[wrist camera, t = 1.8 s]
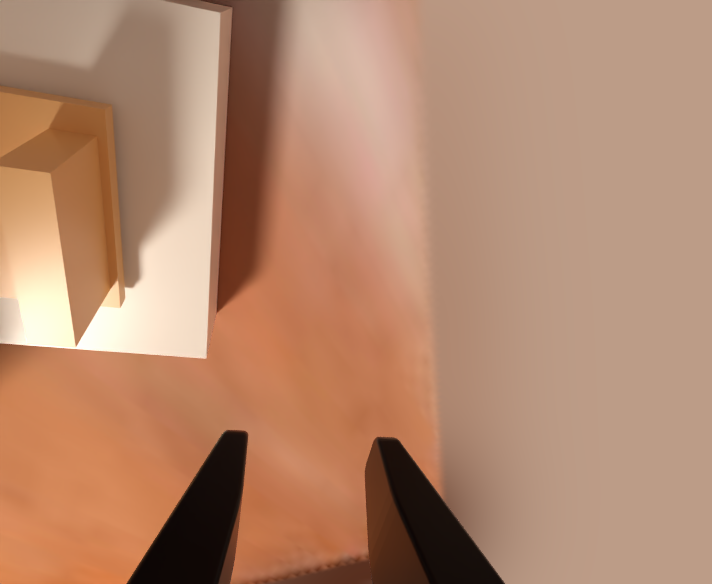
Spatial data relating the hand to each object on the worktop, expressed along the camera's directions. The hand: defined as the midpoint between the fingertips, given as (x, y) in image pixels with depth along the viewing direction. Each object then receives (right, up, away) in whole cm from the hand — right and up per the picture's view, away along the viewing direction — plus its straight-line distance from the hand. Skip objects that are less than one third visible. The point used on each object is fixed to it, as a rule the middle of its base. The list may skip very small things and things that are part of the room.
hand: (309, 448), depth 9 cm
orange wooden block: (-10, +6, +5) cm, 13 cm away
